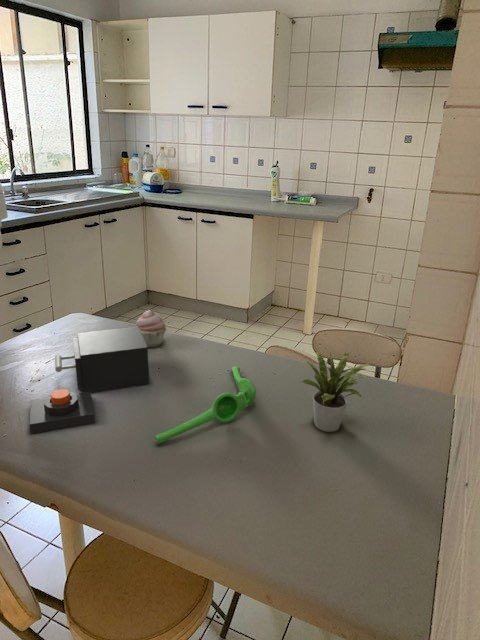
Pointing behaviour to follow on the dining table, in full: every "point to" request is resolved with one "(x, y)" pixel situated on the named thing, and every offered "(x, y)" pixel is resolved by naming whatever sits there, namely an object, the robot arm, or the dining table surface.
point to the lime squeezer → (218, 408)
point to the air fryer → (113, 359)
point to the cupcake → (151, 328)
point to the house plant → (332, 392)
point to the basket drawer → (77, 365)
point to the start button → (60, 397)
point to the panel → (61, 413)
